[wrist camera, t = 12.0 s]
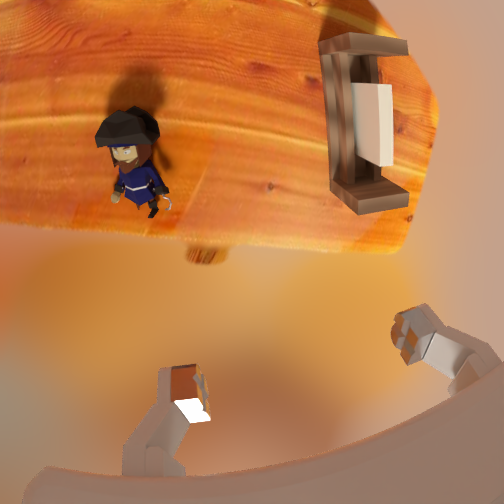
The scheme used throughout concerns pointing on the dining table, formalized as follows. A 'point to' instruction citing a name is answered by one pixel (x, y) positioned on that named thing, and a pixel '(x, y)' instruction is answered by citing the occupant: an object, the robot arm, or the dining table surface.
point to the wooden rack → (341, 120)
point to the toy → (133, 155)
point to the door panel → (373, 122)
